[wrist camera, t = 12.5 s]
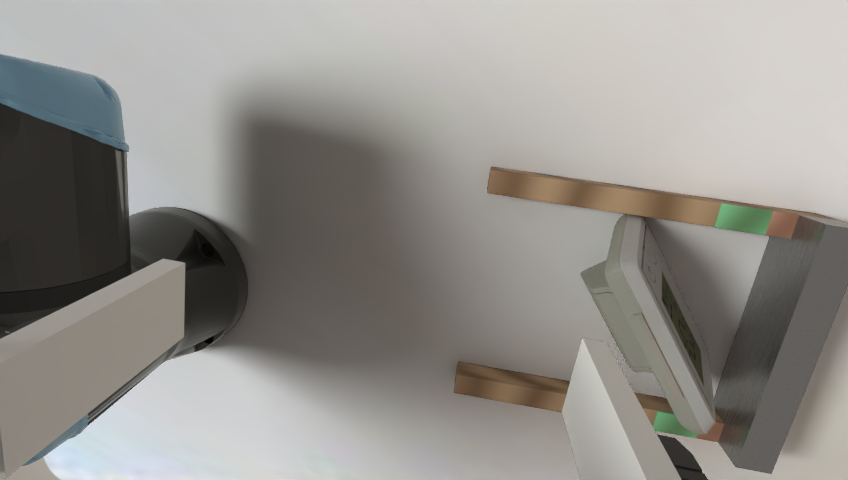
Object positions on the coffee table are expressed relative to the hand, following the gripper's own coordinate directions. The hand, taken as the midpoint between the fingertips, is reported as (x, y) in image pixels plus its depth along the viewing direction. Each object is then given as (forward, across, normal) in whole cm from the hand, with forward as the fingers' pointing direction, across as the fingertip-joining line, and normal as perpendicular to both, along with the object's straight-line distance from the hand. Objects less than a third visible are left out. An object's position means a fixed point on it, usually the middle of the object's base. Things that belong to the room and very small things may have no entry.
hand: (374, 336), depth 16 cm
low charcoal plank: (+30, +31, -8) cm, 44 cm away
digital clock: (+30, +20, -7) cm, 37 cm away
